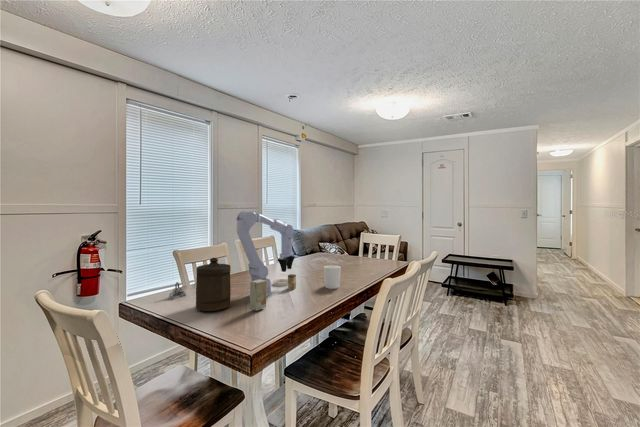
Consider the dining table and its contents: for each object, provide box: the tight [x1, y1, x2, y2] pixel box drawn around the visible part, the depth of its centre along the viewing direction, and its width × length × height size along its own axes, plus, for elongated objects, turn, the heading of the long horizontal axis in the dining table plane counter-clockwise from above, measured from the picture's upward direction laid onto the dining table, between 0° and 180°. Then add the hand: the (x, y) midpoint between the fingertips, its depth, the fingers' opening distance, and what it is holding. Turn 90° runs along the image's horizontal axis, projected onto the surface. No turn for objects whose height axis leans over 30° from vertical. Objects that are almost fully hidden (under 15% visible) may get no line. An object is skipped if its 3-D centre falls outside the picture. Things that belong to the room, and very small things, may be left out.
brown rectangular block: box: [287, 273, 297, 291], centre depth 163 cm, size 4×4×8 cm
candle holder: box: [323, 264, 342, 290], centre depth 167 cm, size 10×10×12 cm
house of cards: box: [168, 281, 187, 300], centre depth 151 cm, size 9×9×8 cm
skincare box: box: [249, 279, 267, 311], centre depth 131 cm, size 6×4×12 cm
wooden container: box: [195, 257, 231, 312], centre depth 134 cm, size 15×15×22 cm
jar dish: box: [272, 278, 288, 287], centre depth 173 cm, size 9×9×2 cm
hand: (286, 270), depth 164 cm, fingers open, 7 cm apart
